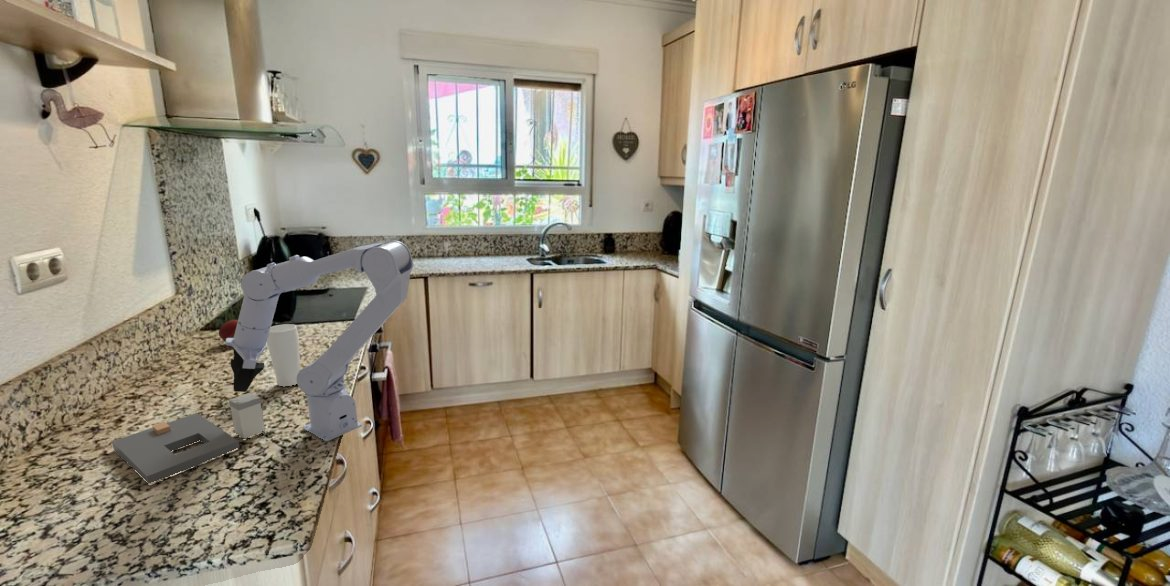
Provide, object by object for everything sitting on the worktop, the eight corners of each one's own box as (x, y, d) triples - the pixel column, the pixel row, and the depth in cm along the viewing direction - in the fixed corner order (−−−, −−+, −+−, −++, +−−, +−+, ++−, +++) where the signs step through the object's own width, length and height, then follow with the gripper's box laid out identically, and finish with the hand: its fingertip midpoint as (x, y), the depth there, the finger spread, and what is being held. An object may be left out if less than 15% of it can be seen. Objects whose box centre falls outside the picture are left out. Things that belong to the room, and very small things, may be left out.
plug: (265, 432, 104) (259, 397, 102) (244, 441, 101) (237, 405, 99) (256, 426, 106) (250, 392, 104) (235, 435, 103) (228, 399, 101)
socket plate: (239, 449, 97) (237, 436, 97) (149, 486, 86) (145, 471, 85) (198, 421, 108) (196, 408, 108) (114, 450, 97) (110, 436, 96)
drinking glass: (270, 390, 123) (261, 333, 120) (279, 379, 130) (270, 324, 126) (300, 387, 125) (292, 331, 121) (307, 376, 131) (299, 322, 128)
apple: (243, 347, 152) (239, 323, 150) (215, 349, 151) (210, 324, 149) (255, 339, 159) (251, 316, 157) (228, 341, 158) (224, 317, 156)
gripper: (231, 304, 103) (217, 361, 106) (230, 338, 93) (215, 399, 96) (270, 309, 108) (255, 363, 111) (274, 341, 97) (258, 400, 100)
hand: (239, 380), depth 103 cm, fingers open, 7 cm apart
